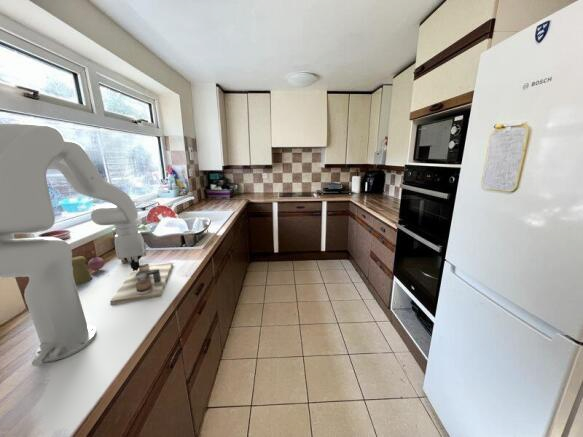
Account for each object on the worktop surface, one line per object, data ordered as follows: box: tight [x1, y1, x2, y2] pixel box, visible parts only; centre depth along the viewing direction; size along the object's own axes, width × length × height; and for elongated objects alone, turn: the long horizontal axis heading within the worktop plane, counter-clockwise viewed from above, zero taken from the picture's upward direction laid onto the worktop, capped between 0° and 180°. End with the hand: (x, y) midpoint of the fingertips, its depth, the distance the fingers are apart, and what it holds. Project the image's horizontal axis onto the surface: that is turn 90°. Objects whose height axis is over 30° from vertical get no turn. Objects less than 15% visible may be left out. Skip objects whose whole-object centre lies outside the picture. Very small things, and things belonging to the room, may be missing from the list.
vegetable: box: [87, 250, 105, 272], centre depth 109 cm, size 6×6×10 cm
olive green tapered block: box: [72, 255, 93, 285], centre depth 100 cm, size 6×6×11 cm
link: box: [136, 263, 152, 292], centre depth 96 cm, size 22×5×6 cm, turn 31°
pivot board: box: [109, 262, 174, 306], centre depth 99 cm, size 28×16×6 cm, turn 18°
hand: (136, 269), depth 104 cm, fingers closed
